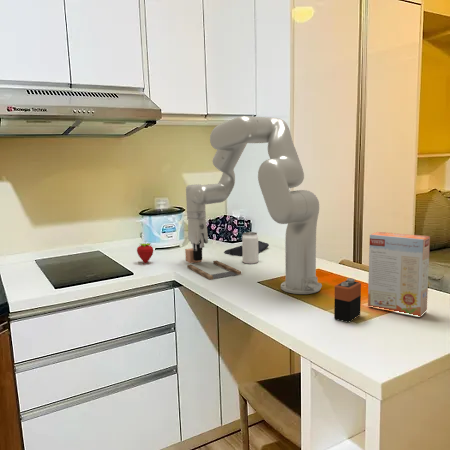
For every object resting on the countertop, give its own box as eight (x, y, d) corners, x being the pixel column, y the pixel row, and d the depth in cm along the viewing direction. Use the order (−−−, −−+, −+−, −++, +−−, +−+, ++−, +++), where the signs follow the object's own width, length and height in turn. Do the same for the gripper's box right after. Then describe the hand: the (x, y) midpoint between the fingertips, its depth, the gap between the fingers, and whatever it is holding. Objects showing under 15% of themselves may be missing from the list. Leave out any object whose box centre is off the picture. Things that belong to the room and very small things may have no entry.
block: (201, 261, 174) (201, 249, 173) (190, 263, 172) (189, 251, 171) (196, 259, 179) (196, 247, 178) (185, 260, 176) (185, 249, 176)
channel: (241, 274, 153) (241, 271, 153) (209, 279, 147) (209, 276, 147) (216, 263, 171) (216, 260, 170) (187, 267, 165) (187, 264, 164)
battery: (360, 315, 111) (361, 279, 109) (349, 323, 106) (349, 285, 104) (345, 312, 114) (346, 276, 112) (333, 319, 109) (333, 282, 107)
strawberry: (144, 260, 179) (143, 237, 177) (157, 262, 174) (156, 239, 173) (134, 263, 174) (132, 239, 172) (147, 265, 170) (145, 241, 168)
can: (258, 260, 174) (258, 231, 172) (258, 264, 168) (257, 234, 166) (243, 260, 175) (242, 231, 173) (242, 264, 168) (241, 234, 166)
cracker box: (427, 312, 111) (431, 235, 108) (420, 319, 107) (423, 239, 104) (375, 301, 121) (377, 230, 117) (366, 307, 116) (369, 233, 113)
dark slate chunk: (274, 249, 197) (274, 239, 196) (249, 258, 179) (249, 247, 178) (247, 246, 206) (247, 236, 205) (220, 254, 188) (220, 244, 187)
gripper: (212, 216, 163) (214, 262, 166) (197, 212, 176) (198, 255, 179) (195, 218, 160) (197, 265, 162) (180, 214, 173) (182, 257, 176)
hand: (198, 259), depth 171 cm, fingers closed
